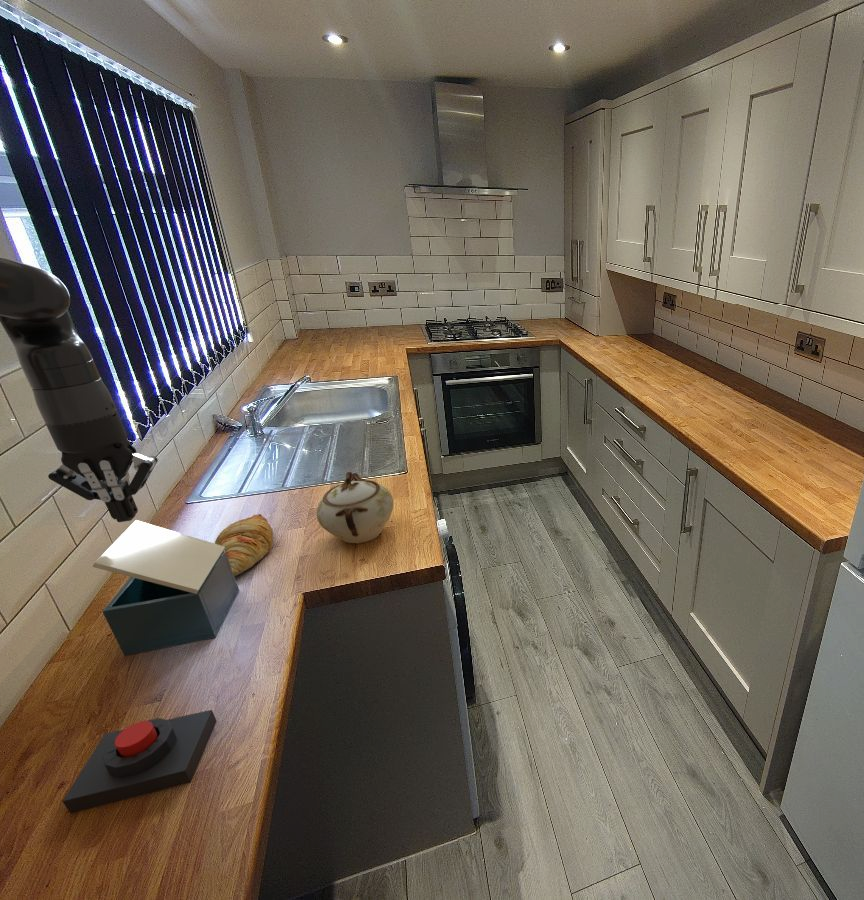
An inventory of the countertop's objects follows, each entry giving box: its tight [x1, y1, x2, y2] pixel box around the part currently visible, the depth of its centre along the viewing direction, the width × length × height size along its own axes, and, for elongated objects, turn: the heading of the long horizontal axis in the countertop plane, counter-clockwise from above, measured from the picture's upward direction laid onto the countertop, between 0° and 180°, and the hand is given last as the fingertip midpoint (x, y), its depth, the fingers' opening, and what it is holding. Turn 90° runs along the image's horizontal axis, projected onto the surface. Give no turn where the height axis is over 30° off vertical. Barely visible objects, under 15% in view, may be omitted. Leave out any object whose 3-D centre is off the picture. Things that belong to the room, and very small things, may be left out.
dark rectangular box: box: [101, 551, 240, 656], centre depth 88 cm, size 13×13×9 cm
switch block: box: [62, 709, 217, 814], centre depth 65 cm, size 12×9×4 cm
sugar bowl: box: [316, 471, 394, 544], centre depth 111 cm, size 20×15×15 cm
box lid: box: [92, 519, 225, 594], centre depth 85 cm, size 13×13×1 cm
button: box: [115, 720, 157, 757], centre depth 64 cm, size 4×4×2 cm
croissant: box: [213, 513, 274, 577], centre depth 107 cm, size 21×10×8 cm, turn 20°
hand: (127, 519), depth 81 cm, fingers closed
